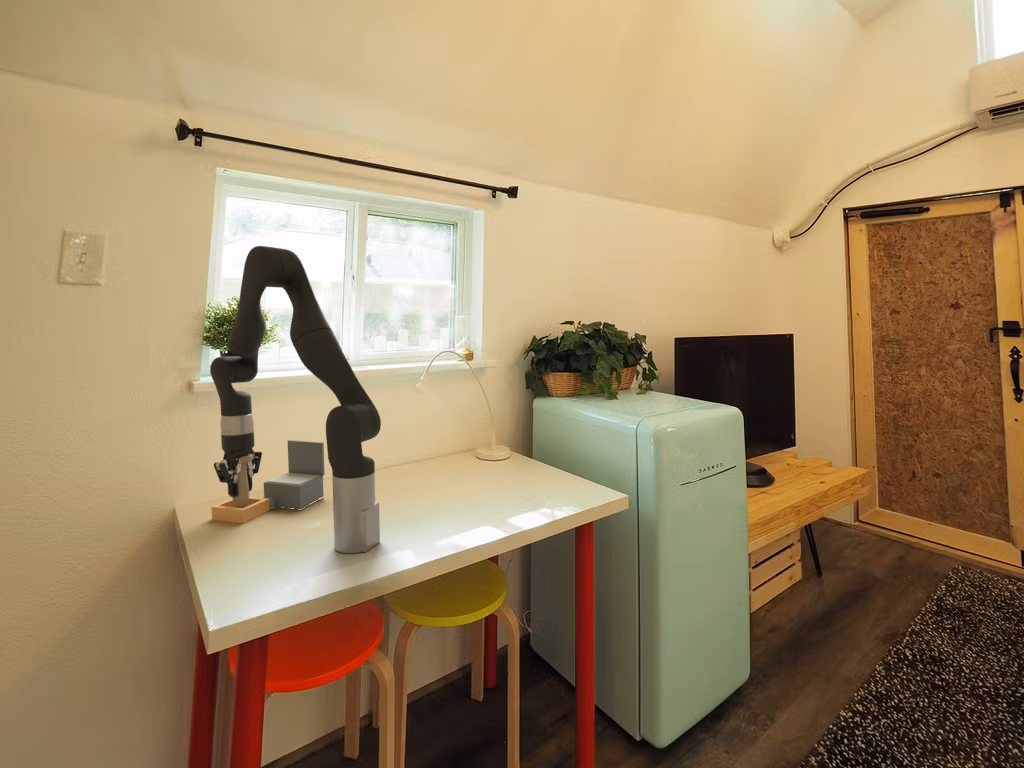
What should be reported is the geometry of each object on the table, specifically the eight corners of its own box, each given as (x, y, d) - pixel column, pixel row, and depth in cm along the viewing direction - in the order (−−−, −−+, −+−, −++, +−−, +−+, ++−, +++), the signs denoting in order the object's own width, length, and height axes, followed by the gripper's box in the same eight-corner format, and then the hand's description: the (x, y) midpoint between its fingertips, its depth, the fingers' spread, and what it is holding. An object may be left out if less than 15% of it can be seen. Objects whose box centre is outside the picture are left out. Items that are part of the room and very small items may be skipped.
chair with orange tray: (325, 497, 136) (323, 442, 134) (269, 526, 114) (266, 461, 113) (275, 492, 140) (272, 438, 138) (212, 519, 118) (208, 456, 117)
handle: (252, 512, 120) (249, 457, 119) (225, 514, 118) (221, 459, 117) (257, 506, 125) (254, 453, 123) (230, 508, 123) (228, 454, 121)
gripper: (226, 437, 112) (230, 504, 113) (269, 427, 125) (272, 486, 127) (202, 435, 113) (206, 501, 115) (247, 425, 127) (250, 484, 129)
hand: (240, 493), depth 121 cm, fingers closed on handle, 4 cm apart
